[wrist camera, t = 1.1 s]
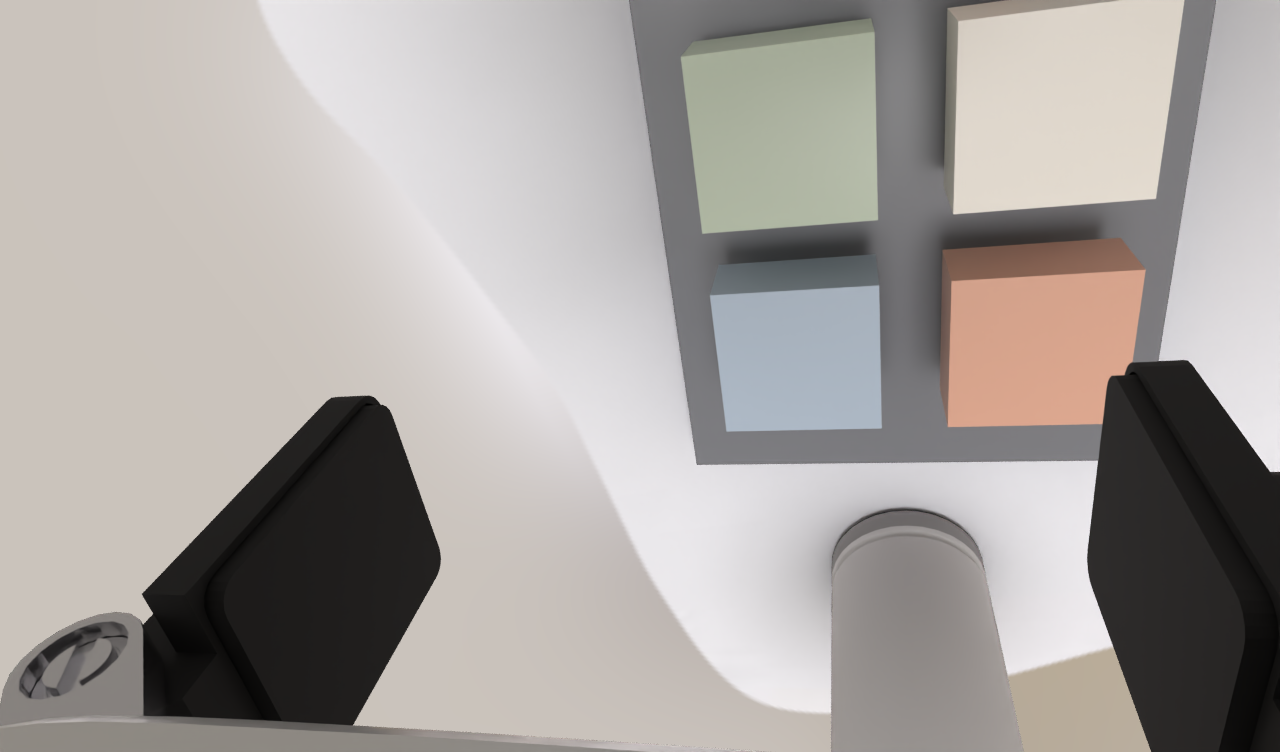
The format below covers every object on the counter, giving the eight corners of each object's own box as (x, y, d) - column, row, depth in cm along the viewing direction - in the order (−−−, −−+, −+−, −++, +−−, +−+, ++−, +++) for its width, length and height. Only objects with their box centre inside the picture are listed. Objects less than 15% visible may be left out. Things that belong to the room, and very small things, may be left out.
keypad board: (1219, -210, 22) (1257, -219, 20) (1125, 428, 32) (1146, 466, 30) (627, -106, 26) (611, -104, 24) (703, 436, 36) (695, 470, 34)
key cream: (1152, -20, 22) (1185, -9, 20) (1129, 171, 24) (1155, 198, 22) (947, 8, 23) (958, 21, 21) (943, 187, 25) (953, 214, 23)
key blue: (875, 254, 27) (879, 285, 25) (878, 389, 29) (881, 428, 27) (718, 264, 28) (709, 295, 26) (733, 394, 31) (726, 431, 28)
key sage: (871, 17, 24) (874, 32, 22) (874, 192, 26) (878, 220, 24) (693, 41, 25) (680, 56, 23) (712, 206, 27) (702, 233, 25)
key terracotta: (1120, 237, 25) (1145, 269, 23) (1102, 383, 28) (1123, 423, 26) (942, 249, 26) (951, 281, 24) (939, 388, 29) (947, 427, 27)
